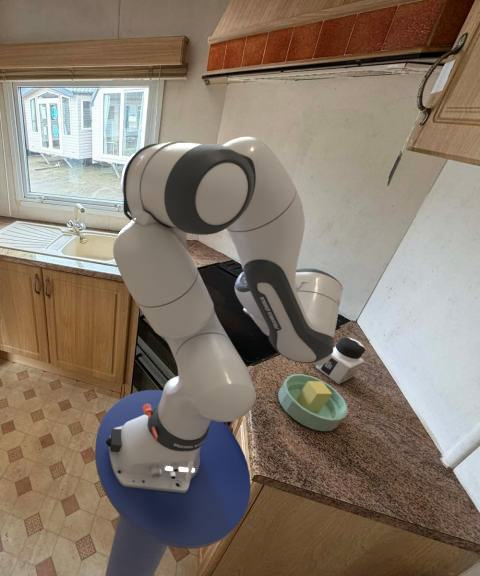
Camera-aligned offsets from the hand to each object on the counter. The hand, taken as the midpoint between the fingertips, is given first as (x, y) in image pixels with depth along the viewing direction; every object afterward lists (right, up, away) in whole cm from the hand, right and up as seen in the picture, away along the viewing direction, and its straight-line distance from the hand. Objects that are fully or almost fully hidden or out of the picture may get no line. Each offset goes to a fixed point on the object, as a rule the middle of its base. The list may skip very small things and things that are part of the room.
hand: (297, 347), depth 78 cm
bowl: (+9, -19, +10) cm, 23 cm away
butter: (+9, -19, +9) cm, 23 cm away
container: (+26, -13, +22) cm, 37 cm away
